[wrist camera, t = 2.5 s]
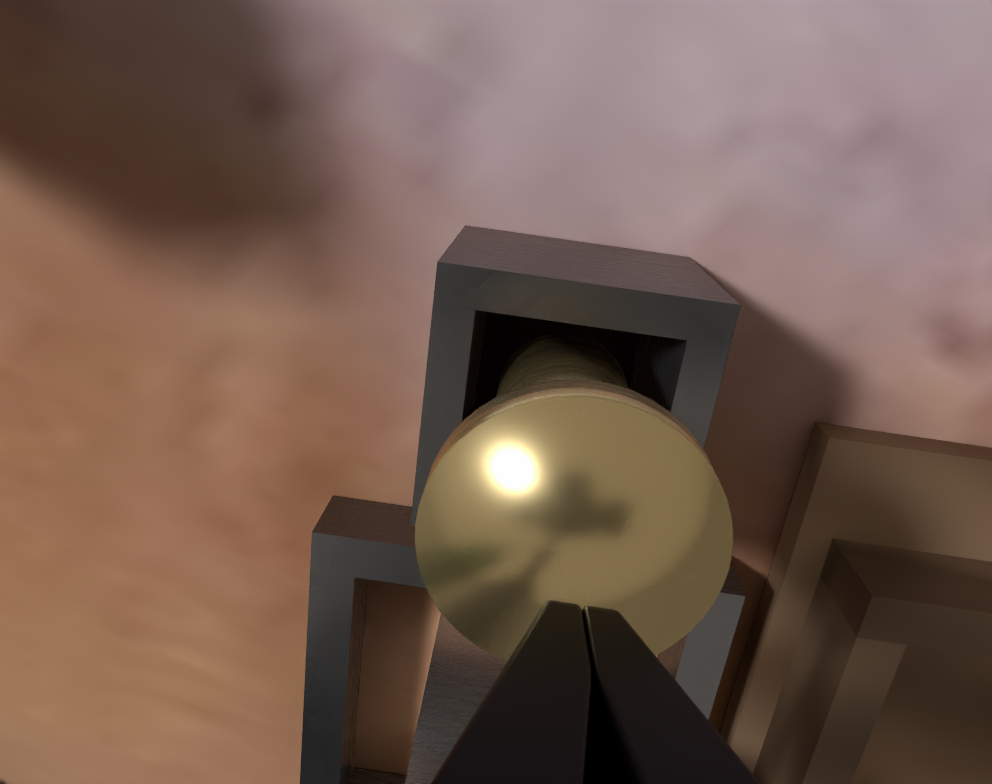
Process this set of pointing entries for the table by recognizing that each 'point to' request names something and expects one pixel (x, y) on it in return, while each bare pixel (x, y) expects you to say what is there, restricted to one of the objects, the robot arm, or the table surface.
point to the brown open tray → (874, 620)
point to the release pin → (572, 505)
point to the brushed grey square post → (449, 699)
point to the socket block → (451, 398)
